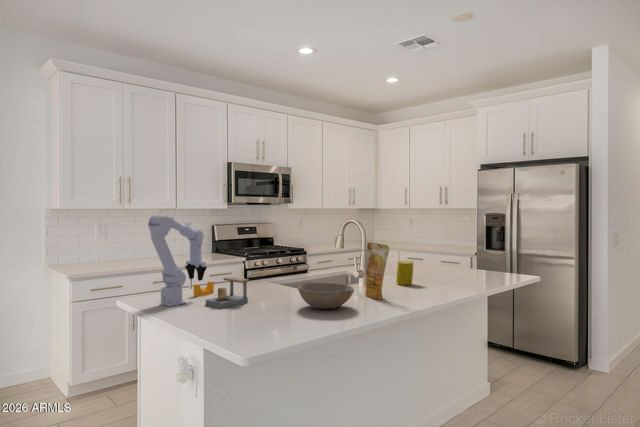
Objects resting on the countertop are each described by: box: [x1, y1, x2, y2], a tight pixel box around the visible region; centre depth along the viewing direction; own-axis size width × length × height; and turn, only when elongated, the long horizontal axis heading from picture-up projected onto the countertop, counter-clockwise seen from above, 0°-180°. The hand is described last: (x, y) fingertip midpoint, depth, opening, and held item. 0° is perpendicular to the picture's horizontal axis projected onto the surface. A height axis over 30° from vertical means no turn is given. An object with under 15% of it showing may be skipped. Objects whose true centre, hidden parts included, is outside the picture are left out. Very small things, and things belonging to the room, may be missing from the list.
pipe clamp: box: [193, 280, 215, 298], centre depth 234 cm, size 12×4×6 cm, turn 149°
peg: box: [217, 287, 227, 301], centre depth 209 cm, size 4×4×8 cm
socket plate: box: [205, 276, 250, 309], centre depth 212 cm, size 16×13×12 cm
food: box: [395, 260, 414, 286], centre depth 264 cm, size 15×12×10 cm
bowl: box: [297, 282, 355, 310], centre depth 204 cm, size 26×26×10 cm
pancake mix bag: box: [365, 241, 390, 301], centre depth 227 cm, size 7×19×28 cm, turn 22°
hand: (195, 279), depth 226 cm, fingers open, 7 cm apart
